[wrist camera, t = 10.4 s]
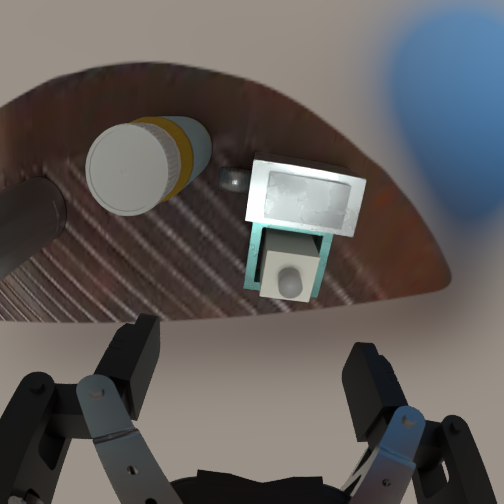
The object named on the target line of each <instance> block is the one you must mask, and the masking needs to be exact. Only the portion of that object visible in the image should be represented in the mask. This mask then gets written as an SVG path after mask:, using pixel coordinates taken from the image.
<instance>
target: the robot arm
mask: <svg viewBox="0 0 504 504" xmlns="http://www.w3.org/2000/svg"><path fill="white" fill-rule="evenodd" d="M65 222H66V208H65V203H64V200H63V197H62V195H61V193H60V191H59V190H58V188H57V187H56V186H55V185H54V184H53V183H52V182H51V181H50V180H48V179H46V178H43V177H34V178H31V179H28V180H26V181H23V182H21V183H18V184H16V185H13V186H11V187H8V188H6V189H4V190H1V191H0V281H1V280H3V279H4V278H5V277H6V276H7V275H9V274H10V273H11V272H12V271H14V270H15V269H16V268H17V267H19V266H20V265H21V264H22V263H24V262H25V261H26V260H28V259H29V258H30V257H31V256H33V255H34V254H35V253H37V252H38V251H39V250H41V249H42V248H44V247H45V246H46V245H48V244H49V243H50V242H52V241H53V240H54V239H56V238H57V237H58V236H59V235H60V234H61V233H62V231H63V229H64V226H65ZM159 352H160V319H159V317H158V316H153V315H148V314H143V313H141V314H140V315H139V317H138V319H137V321H136V323H135V324H129V323H126V324H125V325H123V326H122V327H121V328H119V329H118V330H117V332H116V333H115V335H114V337H113V340H112V341H111V342H110V344H109V347H108V348H107V350H106V351H105V353H104V355H103V357H102V359H101V361H100V362H99V364H98V366H97V368H96V370H95V372H94V374H93V375H89V376H86V377H84V378H83V379H81V380H80V381H79V383H78V384H56V383H54V380H53V379H52V377H51V376H50V375H48V374H46V373H44V372H32V373H30V374H28V375H26V376H25V377H24V378H23V379H22V381H21V382H20V384H19V386H18V387H17V389H16V391H15V393H14V394H13V396H12V398H11V400H10V402H9V403H8V405H7V407H6V409H5V411H4V413H3V415H2V416H1V418H0V504H51V502H52V499H53V495H54V492H55V488H56V485H57V482H58V479H59V475H60V472H61V469H62V466H63V463H64V460H65V457H66V454H67V451H68V448H69V445H70V442H71V439H72V438H77V439H93V443H94V446H95V448H96V451H97V453H98V456H99V458H100V460H101V463H102V465H103V467H104V470H105V472H106V474H107V476H108V478H109V480H110V482H111V485H112V487H113V489H114V491H115V493H116V494H117V497H118V499H119V500H120V502H121V504H400V503H401V500H402V498H403V496H404V494H405V492H406V489H407V487H408V485H409V482H410V480H411V478H412V480H413V485H414V489H415V494H416V498H417V503H418V504H497V501H496V498H495V495H494V492H493V489H492V486H491V483H490V480H489V478H488V475H487V472H486V469H485V466H484V464H483V461H482V458H481V456H480V453H479V451H478V448H477V446H476V444H475V441H474V439H473V436H472V434H471V431H470V429H469V427H468V425H467V423H466V422H465V421H464V420H463V419H462V418H461V417H459V416H456V415H449V416H446V417H445V418H444V419H443V421H442V422H441V423H440V422H434V421H429V420H425V418H424V416H423V414H422V413H421V412H420V411H419V410H417V409H416V408H414V407H411V406H409V405H408V403H407V400H406V398H405V396H404V394H403V391H402V389H401V386H400V384H399V382H398V381H397V377H396V375H395V374H394V371H393V368H392V366H391V364H390V363H389V362H388V361H387V359H386V358H385V357H384V356H383V355H379V354H378V352H377V349H376V347H375V345H374V344H373V343H362V342H356V343H355V344H354V346H353V348H352V350H351V352H350V355H349V357H348V359H347V361H346V363H345V366H344V368H343V371H342V383H343V387H344V391H345V394H346V398H347V402H348V406H349V409H350V413H351V418H352V422H353V426H354V429H355V434H356V438H357V442H367V441H368V445H369V446H368V447H367V449H366V450H365V452H364V453H363V455H362V457H361V459H360V460H359V462H358V464H357V465H356V467H355V469H354V470H353V472H352V473H351V475H350V477H349V478H348V480H347V481H346V483H345V484H344V485H343V486H342V487H341V489H337V488H335V487H332V486H329V485H326V484H323V479H322V476H320V477H290V478H286V479H281V480H276V481H270V482H264V483H261V482H256V481H252V480H249V479H246V478H242V477H239V476H236V475H232V474H229V473H220V472H213V471H205V470H199V469H198V471H197V476H196V477H187V478H181V479H178V480H175V481H172V482H169V481H168V480H167V478H166V476H165V475H164V473H163V472H162V470H161V468H160V467H159V465H158V463H157V462H156V460H155V458H154V456H153V455H152V453H151V451H150V449H149V448H148V446H147V444H146V442H145V440H144V438H143V437H142V435H141V433H140V432H139V430H138V429H137V428H135V427H134V425H133V423H132V421H131V420H135V421H137V419H138V417H139V413H140V410H141V407H142V405H143V401H144V399H145V395H146V392H147V390H148V387H149V384H150V381H151V378H152V375H153V372H154V369H155V366H156V364H157V361H158V358H159ZM443 461H445V464H446V467H447V470H448V474H449V481H448V483H447V480H446V476H445V473H444V470H443V466H442V462H443Z"/></svg>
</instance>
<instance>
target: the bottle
mask: <svg viewBox="0 0 504 504" xmlns="http://www.w3.org/2000/svg"><path fill="white" fill-rule="evenodd" d="M211 155H212V141H211V137H210V135H209V133H208V131H207V130H206V128H205V127H204V126H203V125H202V124H201V123H199V122H198V121H197V120H195V119H192V118H189V117H184V116H150V117H142V118H139V119H137V120H134V121H132V122H130V123H125V124H120V125H115V126H114V127H111V128H110V129H107V130H106V131H105V132H103V133H102V134H101V135H100V136H99V137H98V138H97V139H96V140H95V141H94V143H93V144H92V146H91V148H90V150H89V153H88V156H87V160H86V179H87V183H88V186H89V189H90V191H91V193H92V195H93V196H94V198H95V199H96V200H97V202H98V203H99V204H100V205H101V206H103V207H104V208H105V209H107V210H108V211H110V212H112V213H115V214H118V215H122V216H134V215H138V214H142V213H144V212H147V211H148V210H151V209H152V208H153V207H155V206H156V205H157V204H158V203H160V202H164V201H167V200H169V199H170V198H172V197H173V196H175V195H176V194H178V193H179V192H180V191H181V190H182V189H183V188H185V187H186V186H187V185H188V184H189V183H190V182H191V181H192V180H193V179H195V178H196V177H197V176H198V175H199V174H200V173H201V172H202V171H203V170H204V169H205V167H206V166H207V165H208V163H209V161H210V158H211Z"/></svg>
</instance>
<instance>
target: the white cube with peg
mask: <svg viewBox="0 0 504 504" xmlns="http://www.w3.org/2000/svg"><path fill="white" fill-rule="evenodd" d="M319 260H320V256H319V254H318V251H317V248H316V246H315V243H314V241H313V238H312V235H311V234H307V233H301V232H294V231H287V230H280V229H274V228H267V227H266V233H265V240H264V246H263V252H262V258H261V264H260V296H262V297H270V298H278V299H286V300H294V301H302V302H309V299H310V295H311V291H312V287H313V284H314V280H315V276H316V272H317V268H318V264H319Z"/></svg>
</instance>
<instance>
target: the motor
mask: <svg viewBox="0 0 504 504" xmlns="http://www.w3.org/2000/svg"><path fill="white" fill-rule="evenodd" d="M365 184H366V179H365V178H363V177H362V176H360V175H359V174H357V173H355V172H354V171H352V170H351V169H349V168H347V167H343V166H338V165H333V164H328V163H323V162H318V161H312V160H307V159H301V158H295V157H289V156H283V155H277V154H270V153H263V152H256V153H255V157H254V162H253V169H252V170H245V169H237V168H229V167H221V170H220V175H219V182H218V191H223V192H231V193H238V194H246V195H249V198H248V205H247V212H246V220H245V221H251V222H253V224H252V231H251V238H250V245H249V251H248V258H247V265H246V272H245V280H244V288H245V289H252V290H260V270H256V264H257V257H258V251H259V245H260V238H261V232H262V227H267V228H274V229H280V230H287V231H294V232H301V233H307V234H314V235H317V238H316V242H315V246H316V248H317V251H318V254H319V256H320V260H319V264H318V268H317V272H316V276H315V280H314V284H313V287H312V291H311V295H310V297H317V296H318V292H319V289H320V285H321V281H322V277H323V274H324V270H325V266H326V262H327V258H328V254H329V250H330V246H331V242H332V238H333V234H338V235H344V236H350V237H353V234H354V230H355V227H356V223H357V218H358V214H359V210H360V206H361V202H362V197H363V193H364V189H365Z"/></svg>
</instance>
